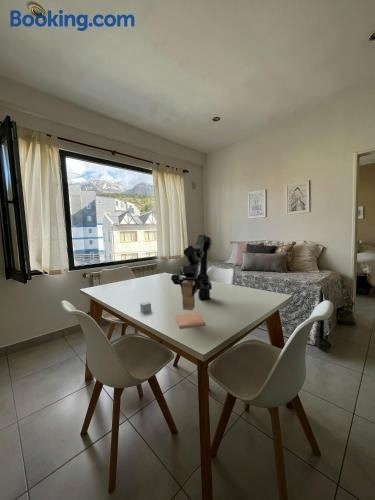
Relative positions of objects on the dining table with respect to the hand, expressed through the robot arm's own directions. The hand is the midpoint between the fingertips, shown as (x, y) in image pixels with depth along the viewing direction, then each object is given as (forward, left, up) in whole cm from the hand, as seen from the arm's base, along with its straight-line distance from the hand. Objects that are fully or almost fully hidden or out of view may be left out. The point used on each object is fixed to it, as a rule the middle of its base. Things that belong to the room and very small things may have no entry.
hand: (187, 295), depth 95 cm
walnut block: (-1, -1, -7) cm, 7 cm away
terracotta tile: (-1, -1, -13) cm, 13 cm away
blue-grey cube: (+20, -20, -13) cm, 31 cm away
